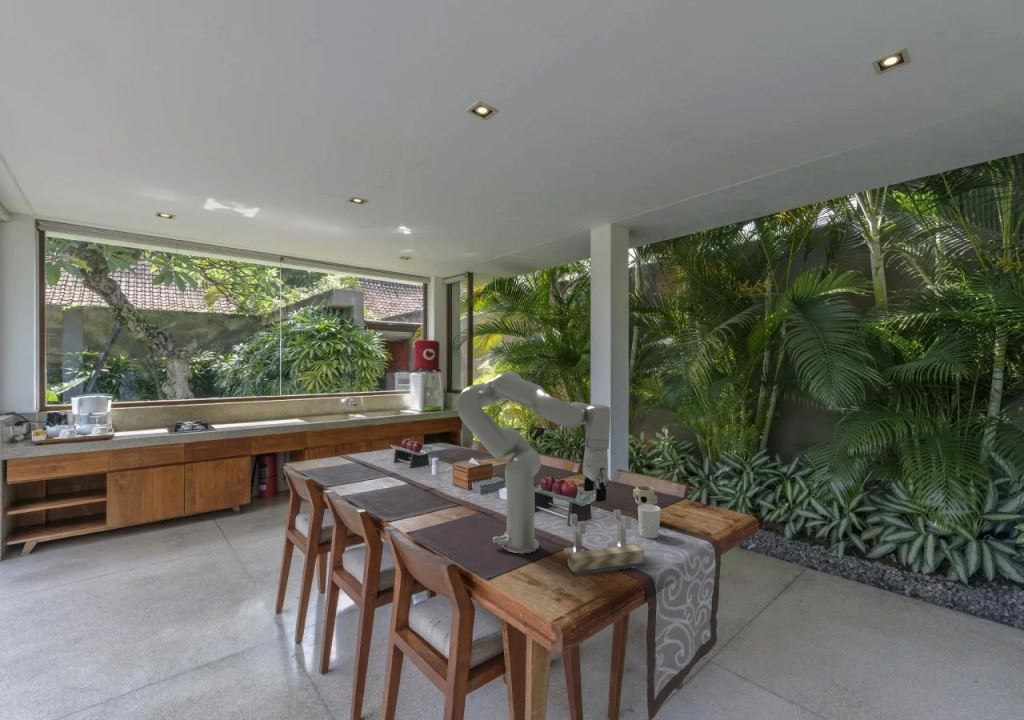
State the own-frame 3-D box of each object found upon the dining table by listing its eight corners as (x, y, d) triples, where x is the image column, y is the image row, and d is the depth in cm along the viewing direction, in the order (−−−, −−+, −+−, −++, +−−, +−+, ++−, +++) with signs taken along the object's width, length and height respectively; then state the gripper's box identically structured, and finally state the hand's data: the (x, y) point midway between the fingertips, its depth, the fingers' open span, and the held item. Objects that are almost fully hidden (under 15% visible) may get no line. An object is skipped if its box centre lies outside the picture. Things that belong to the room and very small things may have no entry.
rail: (572, 571, 141) (572, 558, 140) (567, 565, 144) (567, 552, 144) (643, 562, 147) (643, 549, 147) (637, 556, 151) (637, 544, 150)
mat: (576, 575, 139) (576, 573, 139) (567, 565, 146) (567, 563, 146) (644, 566, 145) (644, 564, 145) (633, 556, 152) (633, 554, 152)
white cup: (648, 541, 164) (648, 512, 164) (633, 533, 171) (633, 506, 171) (664, 536, 168) (665, 509, 168) (649, 529, 175) (649, 502, 175)
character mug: (627, 518, 186) (627, 486, 185) (638, 514, 190) (638, 482, 190) (650, 526, 177) (651, 492, 177) (661, 522, 182) (662, 489, 181)
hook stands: (574, 563, 147) (574, 524, 147) (563, 551, 156) (563, 514, 155) (636, 555, 153) (637, 517, 152) (623, 544, 162) (623, 508, 161)
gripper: (576, 437, 158) (574, 487, 158) (596, 449, 141) (594, 505, 142) (597, 437, 159) (594, 487, 160) (619, 449, 143) (617, 504, 143)
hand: (594, 495), depth 151 cm, fingers open, 9 cm apart
